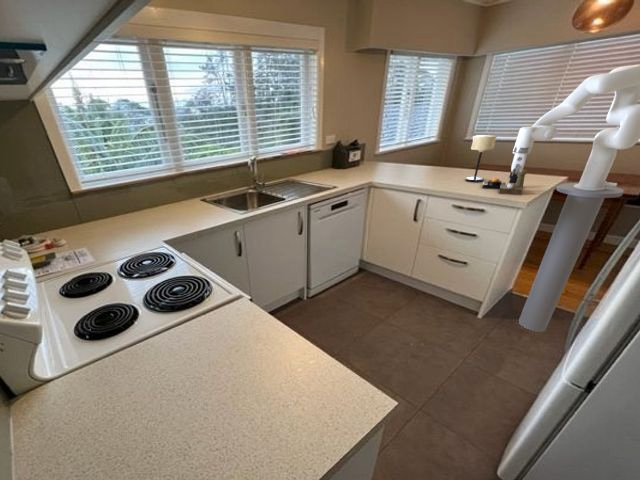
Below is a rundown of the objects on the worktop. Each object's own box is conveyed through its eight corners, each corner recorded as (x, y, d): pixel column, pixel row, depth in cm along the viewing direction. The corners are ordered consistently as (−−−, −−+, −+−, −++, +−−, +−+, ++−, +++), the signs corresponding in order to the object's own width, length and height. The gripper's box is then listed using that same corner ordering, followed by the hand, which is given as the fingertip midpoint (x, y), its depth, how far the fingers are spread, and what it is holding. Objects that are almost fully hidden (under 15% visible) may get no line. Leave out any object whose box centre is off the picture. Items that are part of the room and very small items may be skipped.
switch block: (504, 186, 188) (506, 179, 186) (504, 189, 182) (506, 183, 180) (483, 185, 194) (484, 178, 192) (482, 188, 188) (483, 181, 186)
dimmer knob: (515, 186, 175) (518, 177, 173) (515, 188, 172) (518, 178, 170) (506, 186, 177) (509, 176, 175) (506, 187, 174) (509, 178, 172)
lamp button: (498, 181, 187) (499, 178, 186) (498, 182, 184) (499, 179, 183) (491, 180, 189) (492, 177, 188) (491, 181, 186) (492, 179, 185)
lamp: (485, 179, 206) (496, 134, 193) (484, 183, 198) (496, 136, 185) (464, 178, 213) (474, 135, 200) (463, 182, 204) (473, 137, 192)
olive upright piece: (510, 188, 183) (515, 170, 178) (510, 186, 187) (515, 168, 182) (522, 189, 179) (528, 170, 175) (522, 186, 184) (528, 168, 179)
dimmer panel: (520, 191, 176) (521, 185, 175) (520, 194, 170) (522, 189, 169) (499, 189, 182) (500, 184, 181) (498, 193, 176) (500, 188, 174)
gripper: (531, 153, 157) (521, 185, 165) (529, 148, 170) (519, 178, 177) (513, 152, 162) (504, 183, 169) (513, 148, 174) (504, 177, 181)
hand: (512, 181), depth 173 cm, fingers open, 9 cm apart
